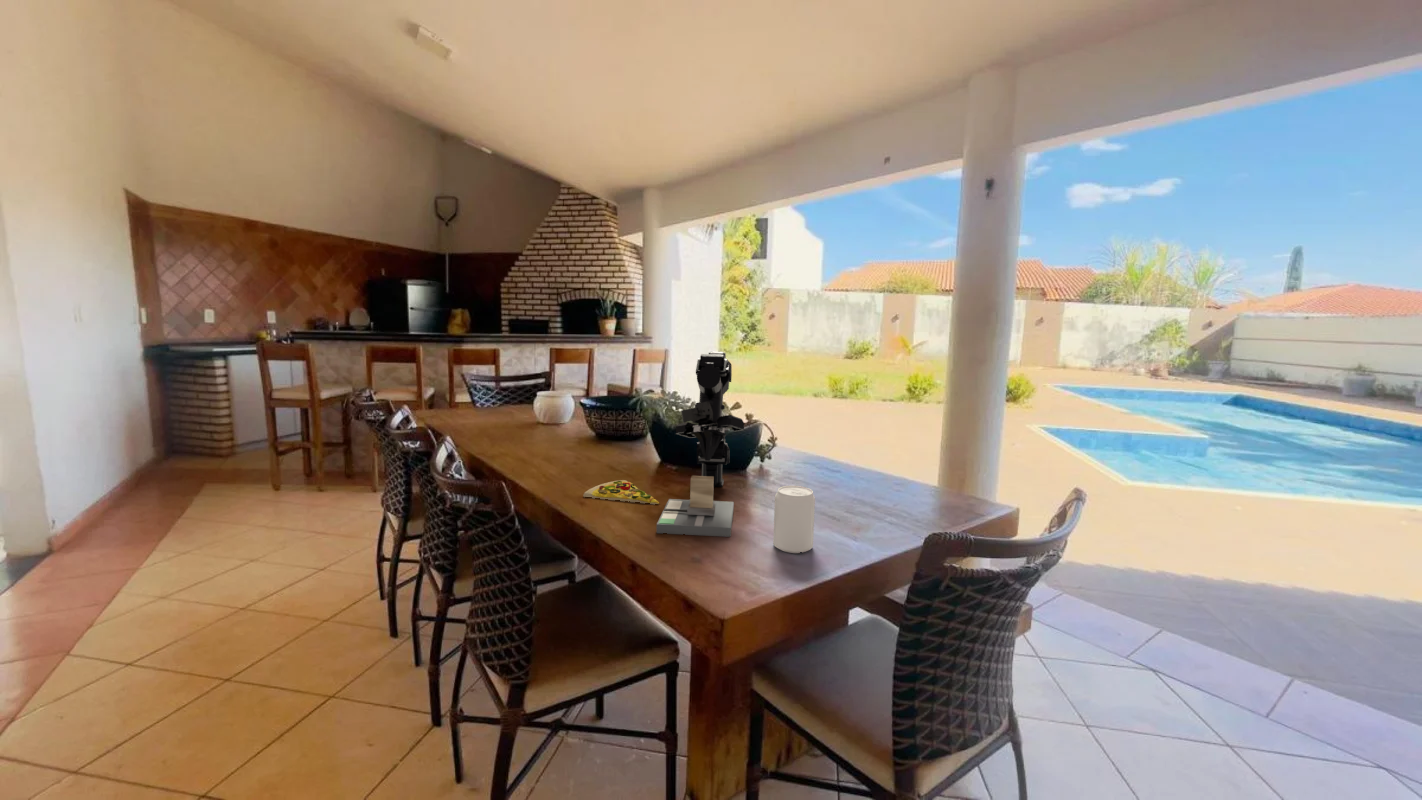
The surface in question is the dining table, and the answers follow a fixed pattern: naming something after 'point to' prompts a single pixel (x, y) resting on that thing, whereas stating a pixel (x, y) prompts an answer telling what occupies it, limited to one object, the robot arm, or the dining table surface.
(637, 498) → the pizza slice
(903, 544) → the dining table surface
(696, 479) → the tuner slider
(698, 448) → the robot arm
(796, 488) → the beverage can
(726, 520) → the board
